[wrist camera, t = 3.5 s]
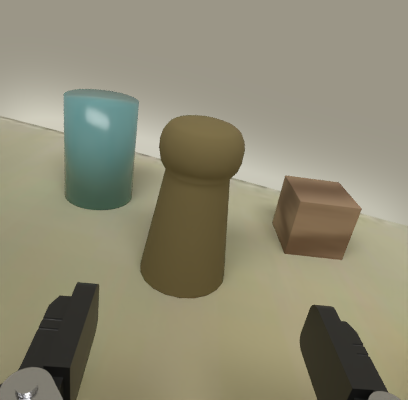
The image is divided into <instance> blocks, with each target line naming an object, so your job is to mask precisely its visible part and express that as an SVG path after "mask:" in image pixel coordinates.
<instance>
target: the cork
mask: <svg viewBox="0 0 408 400" xmlns="http://www.w3.org/2000/svg"><path fill="white" fill-rule="evenodd" d="M244 146H245V144H244V140H243V137H242V134H241V132H240V131H239V130H238V129H237V128H236V127H235V126H233V125H232V124H230V123H227V122H225V121H223V120H219V119H216V118H212V117H207V116H198V115H197V116H196V115H186V116H180V117H176V118H174V119H172V120H171V121H170V122H169V123H168V124H167V125H166V126H165V128H164V129H163V131H162V134H161V137H160V145H159V148H160V156H161V161H162V163H163V165H164V167H165V168H166V170H165V173H164V177H163V181H162V185H161V188H160V192H159V196H158V200H157V204H156V207H155V211H154V215H153V219H152V222H151V226H150V230H149V234H148V238H147V241H146V245H145V249H144V253H143V257H142V260H141V274H142V276H143V278H144V280H145V281H146V282H147V283H148V284H149V285H150V286H151V287H153V288H154V289H156V290H158V291H160V292H162V293H164V294H166V295H170V296H174V297H179V298H196V297H201V296H205V295H208V294H210V293H212V292H213V291H215V290H217V288H218V287H219V286H220V285H221V284H222V281H223V276H224V263H225V247H226V231H227V215H228V200H229V184H230V178H232V177H233V176H234V175H235V174H236V173H237V172H238V170H239V168H240V166H241V164H242V160H243V156H244V151H245V147H244Z"/></svg>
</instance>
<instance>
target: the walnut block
mask: <svg viewBox="0 0 408 400" xmlns="http://www.w3.org/2000/svg"><path fill="white" fill-rule="evenodd" d="M361 210H362V209H361V208H360V206H359V205H358V204H357V203H356V202H355V201H354V200H353V198H352V197H351V196H350V195H349V194H348V193H347V192H346V190H345V189H344V188H343V187H342V186H341V184H340V183H338V182H331V181H324V180H316V179H308V178H300V177H292V176H285V179H284V182H283V186H282V190H281V193H280V197H279V200H278V204H277V208H276V211H275V215H274V219H273V222H272V223H273V226H274V228H275V231H276V233H277V236H278V238H279V241H280V243H281V246H282V248H283V251H284V253H285V254H293V255H302V256H311V257H320V258H329V259H339V260H342V258H343V256H344V253H345V250H346V248H347V245H348V243H349V240H350V238H351V235H352V233H353V230H354V227H355V225H356V222H357V220H358V217H359V215H360V212H361Z"/></svg>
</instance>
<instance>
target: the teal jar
mask: <svg viewBox="0 0 408 400" xmlns="http://www.w3.org/2000/svg"><path fill="white" fill-rule="evenodd" d="M138 105H139V101H138V100H137V99H136V98H134V97H132V96H129V95H126V94H122V93H117V92H113V91H105V90H96V89H95V90H94V89H78V90H71V91H67V92H65V93H64V162H65V197H66V199H67V200H68V201H69V202H70V203H72V204H74V205H76V206H78V207H81V208H85V209H91V210H109V209H115V208H119V207H121V206H124V205H125V204H127V203H128V202H129V201H130V200H131V196H132V184H133V171H134V158H135V144H136V131H137V119H138Z"/></svg>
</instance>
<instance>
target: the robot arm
mask: <svg viewBox="0 0 408 400" xmlns="http://www.w3.org/2000/svg"><path fill="white" fill-rule="evenodd" d="M98 303H99V284H91V283H80V282H78V283H77V284H76V287H75V289H74V292H73V294H72V296H59V297H58V298H57V299H56V300H54V301H53V302H52V303H51V304H50V305H49V306H48V309H47V311H46V313H45V315H44V317H43V320H42V321H41V324H40V326H39V329H38V330H37V332H36V334H35V336H34V338H33V341H32V343H31V345H30V347H29V349H28V351H27V353H26V356H25V358H24V360H23V362H22V364H21V366H20V368H19V370H18V371H17V372H15V373H13V374H12V375H10V376H9V377H8V378H7V379H6V380H5V381H4V382H3V383H2V384H0V400H76V399H77V395H78V392H79V388H80V385H81V381H82V378H83V374H84V371H85V367H86V364H87V360H88V357H89V353H90V350H91V346H92V343H93V339H94V336H95V332H96V327H97V321H98ZM300 348H301V352H302V355H303V358H304V361H305V364H306V367H307V370H308V373H309V376H310V379H311V382H312V385H313V388H314V391H315V394H316V397H317V400H400V399H399V398H398V397H396V396H394V395H393V394H390V393H388V391H387V389H386V387H385V385H384V383H383V381H382V379H381V378H380V376H379V374H378V372H377V370H376V368H375V366H374V364H373V362H372V360H371V359H370V357H368V353H367V351H366V349H365V347H363V343H362V341H361V340H360V338H359V336H358V334H357V332H356V331H355V330H354V329H353V328H352V327H351V326H350V325H349V324H348V323H347V322H344V321H341V320H340V318H339V316H338V314H337V312H336V310H335V309H334V307H332V306H321V305H312V306H311V308H310V310H309V313H308V315H307V318H306V321H305V324H304V326H303V329H302V332H301V335H300Z"/></svg>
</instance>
